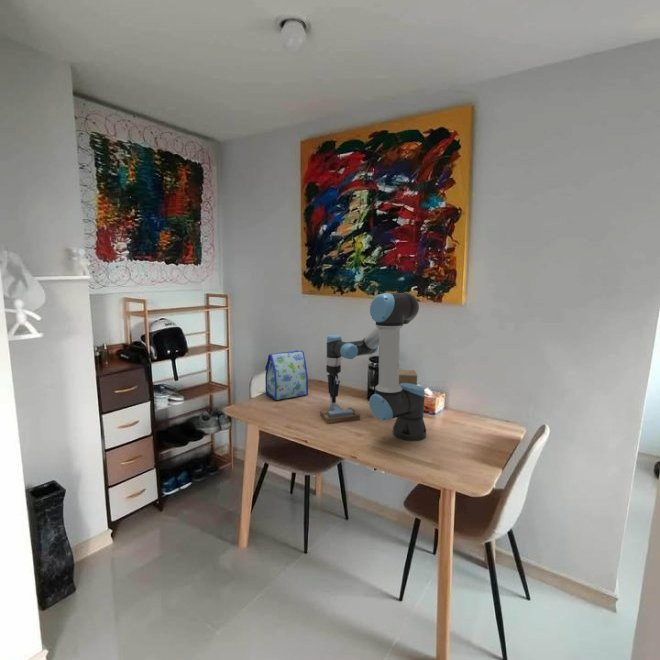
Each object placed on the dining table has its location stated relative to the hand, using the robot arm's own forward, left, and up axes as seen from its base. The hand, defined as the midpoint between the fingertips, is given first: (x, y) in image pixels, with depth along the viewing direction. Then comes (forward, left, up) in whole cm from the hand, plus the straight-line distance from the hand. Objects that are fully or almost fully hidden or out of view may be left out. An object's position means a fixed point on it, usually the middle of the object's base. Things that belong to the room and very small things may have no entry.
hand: (332, 407), depth 205 cm
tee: (-7, 0, -2) cm, 7 cm away
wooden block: (-8, -39, -2) cm, 40 cm away
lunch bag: (+31, +18, -2) cm, 36 cm away
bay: (-10, 0, -1) cm, 10 cm away
